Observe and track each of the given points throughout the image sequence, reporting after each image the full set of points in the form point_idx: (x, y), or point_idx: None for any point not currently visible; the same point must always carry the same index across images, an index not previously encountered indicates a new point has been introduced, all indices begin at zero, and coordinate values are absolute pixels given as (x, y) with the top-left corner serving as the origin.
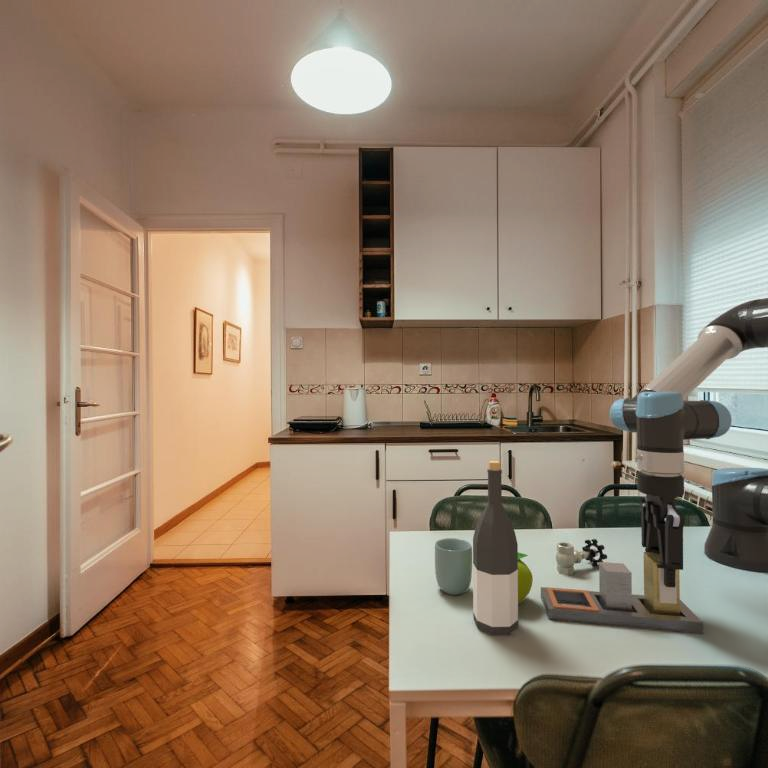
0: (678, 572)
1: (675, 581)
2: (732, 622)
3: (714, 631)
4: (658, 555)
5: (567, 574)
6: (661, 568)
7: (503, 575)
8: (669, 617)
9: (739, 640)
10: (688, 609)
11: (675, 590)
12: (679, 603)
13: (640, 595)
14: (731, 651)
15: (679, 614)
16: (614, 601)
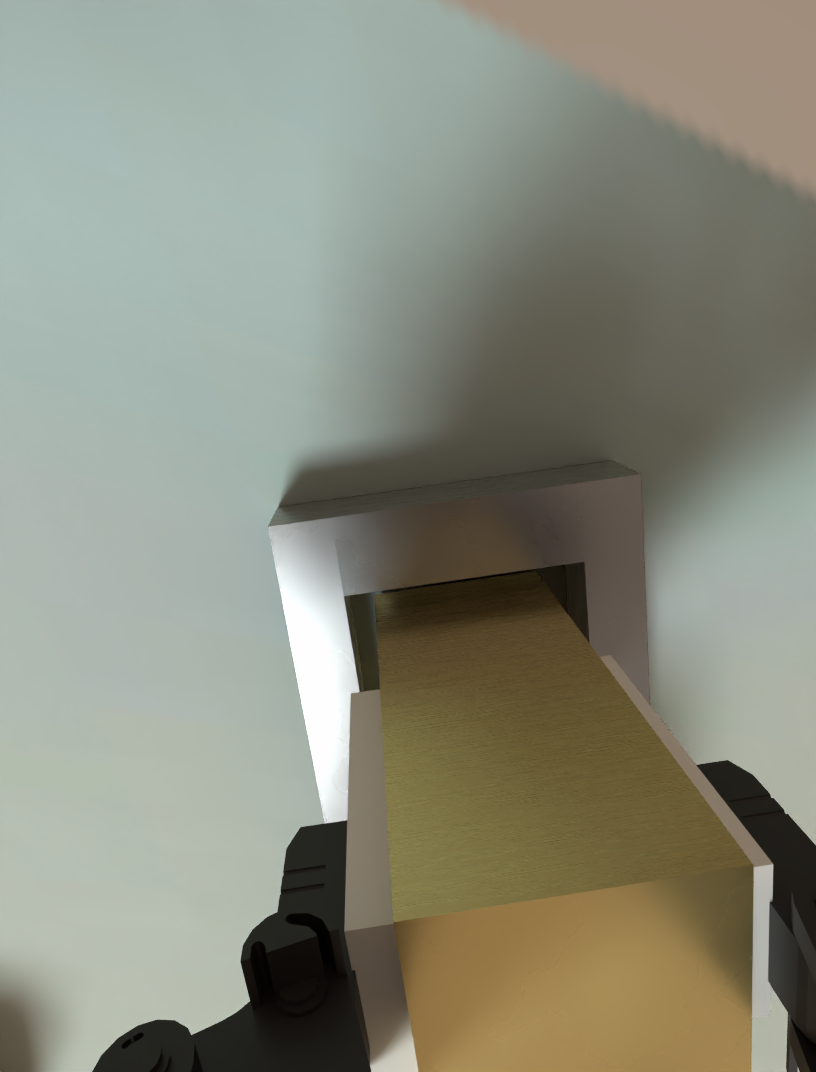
0: (683, 781)
1: (692, 767)
2: (380, 185)
3: (559, 374)
4: (526, 1047)
5: None
6: (766, 990)
7: None
8: (622, 669)
9: (643, 251)
10: (458, 512)
11: (653, 717)
12: (574, 624)
13: (324, 779)
14: (789, 363)
15: (551, 593)
16: None
